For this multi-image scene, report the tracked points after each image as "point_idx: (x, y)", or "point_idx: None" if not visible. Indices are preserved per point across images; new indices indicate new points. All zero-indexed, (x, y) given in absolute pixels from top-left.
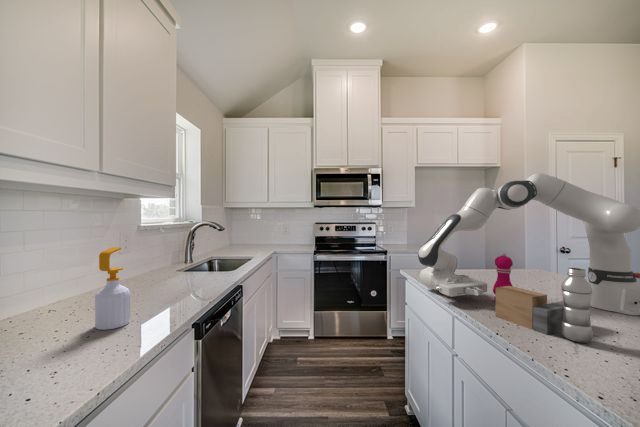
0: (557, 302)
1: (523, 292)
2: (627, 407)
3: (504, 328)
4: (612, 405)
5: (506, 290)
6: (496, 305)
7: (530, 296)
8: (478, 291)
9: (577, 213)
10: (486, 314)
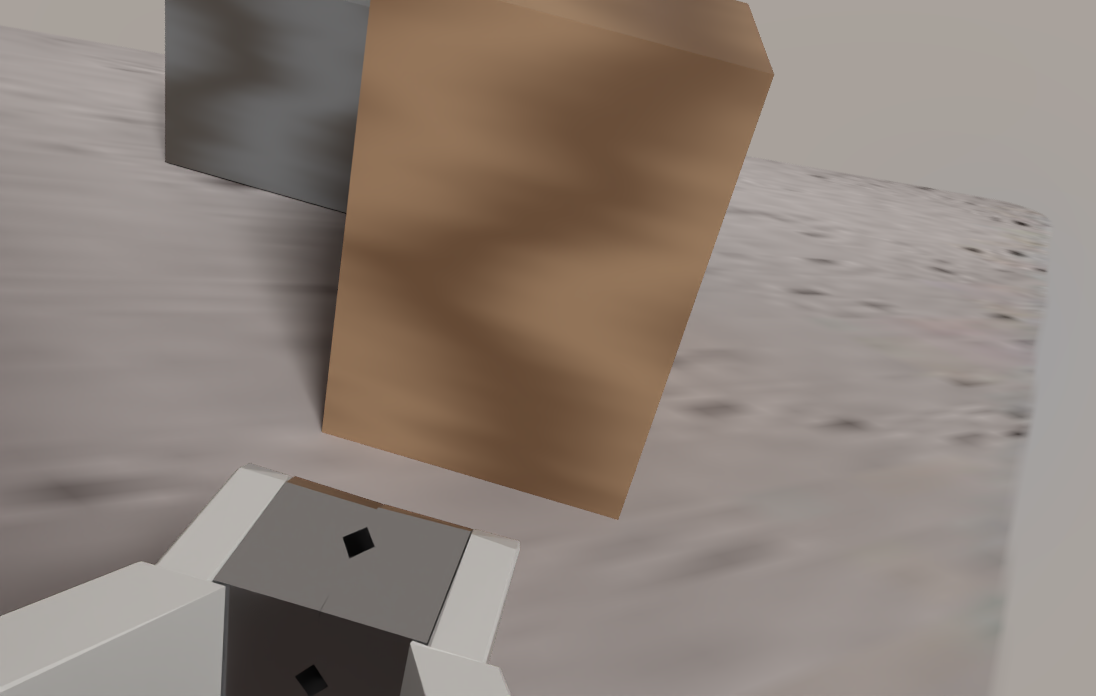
0: (354, 2)
1: None
2: (988, 201)
3: (863, 413)
4: (1023, 216)
5: (759, 42)
6: (671, 366)
7: (737, 3)
8: (480, 535)
9: None
10: (659, 618)
